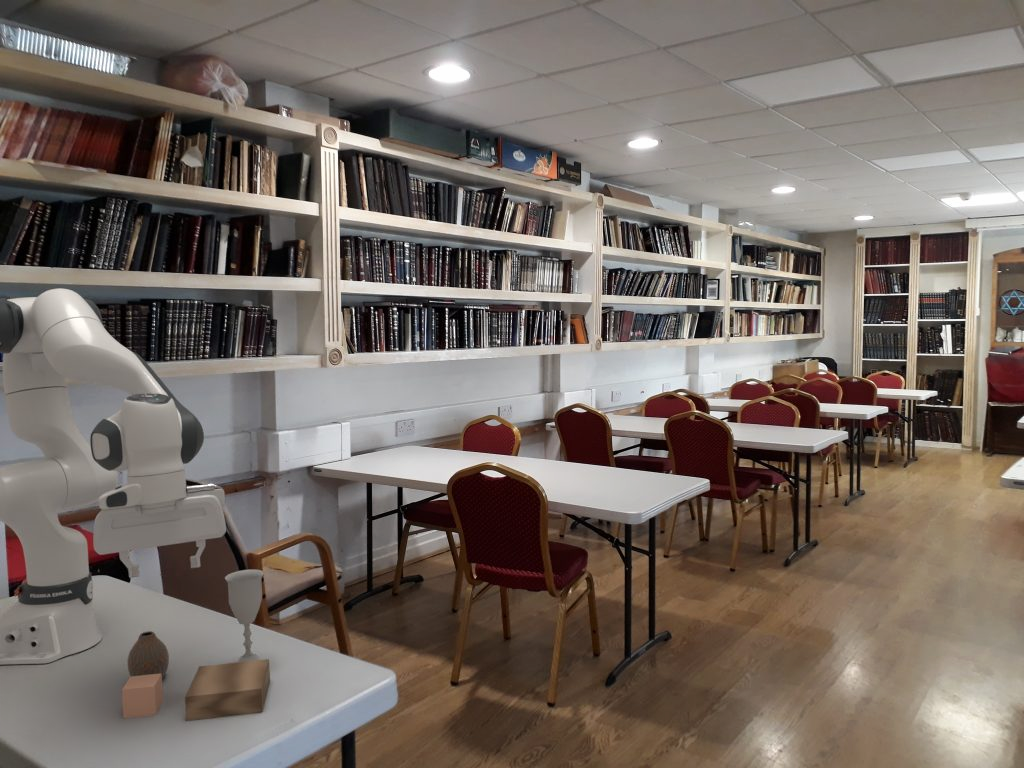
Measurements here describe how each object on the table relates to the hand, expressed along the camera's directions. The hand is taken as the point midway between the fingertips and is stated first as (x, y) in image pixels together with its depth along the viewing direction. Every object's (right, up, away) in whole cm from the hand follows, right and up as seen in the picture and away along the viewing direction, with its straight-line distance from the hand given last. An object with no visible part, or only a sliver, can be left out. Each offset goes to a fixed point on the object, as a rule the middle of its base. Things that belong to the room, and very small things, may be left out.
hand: (165, 571), depth 130 cm
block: (-4, -24, +2) cm, 24 cm away
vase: (-9, -23, +13) cm, 28 cm away
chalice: (+8, -23, +17) cm, 29 cm away
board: (+9, -23, +4) cm, 25 cm away
